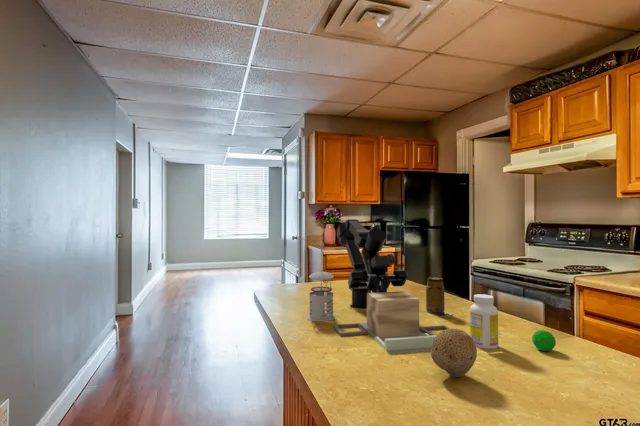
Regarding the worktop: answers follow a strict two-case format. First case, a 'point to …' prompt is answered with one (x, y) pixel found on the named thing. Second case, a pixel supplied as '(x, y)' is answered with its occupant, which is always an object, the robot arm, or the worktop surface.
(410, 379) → the worktop surface
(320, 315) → the french press
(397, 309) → the oak block
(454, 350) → the natural sponge
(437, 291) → the condiment
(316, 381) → the worktop surface
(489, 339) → the supplement bottle
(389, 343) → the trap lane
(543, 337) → the polyhedron
